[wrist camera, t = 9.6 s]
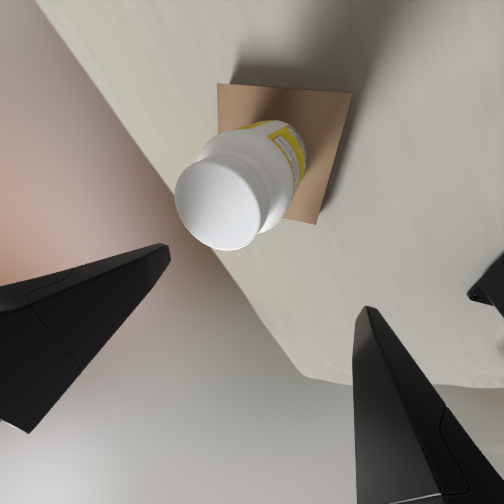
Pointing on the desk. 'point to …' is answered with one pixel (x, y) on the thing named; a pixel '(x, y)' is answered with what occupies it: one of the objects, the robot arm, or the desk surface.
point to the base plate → (303, 121)
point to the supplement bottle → (241, 183)
